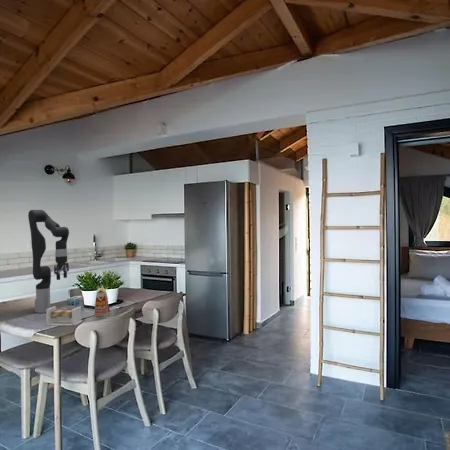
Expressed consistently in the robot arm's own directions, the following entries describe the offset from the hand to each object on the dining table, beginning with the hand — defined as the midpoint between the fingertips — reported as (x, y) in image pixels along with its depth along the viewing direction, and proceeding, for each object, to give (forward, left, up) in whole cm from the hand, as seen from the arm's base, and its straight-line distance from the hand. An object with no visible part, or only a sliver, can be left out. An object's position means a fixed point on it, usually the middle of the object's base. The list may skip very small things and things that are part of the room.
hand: (61, 278), depth 246 cm
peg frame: (+11, -17, -26) cm, 33 cm away
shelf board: (+11, -17, -21) cm, 29 cm away
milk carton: (+26, +6, -26) cm, 37 cm away
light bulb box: (+3, +12, -26) cm, 29 cm away
